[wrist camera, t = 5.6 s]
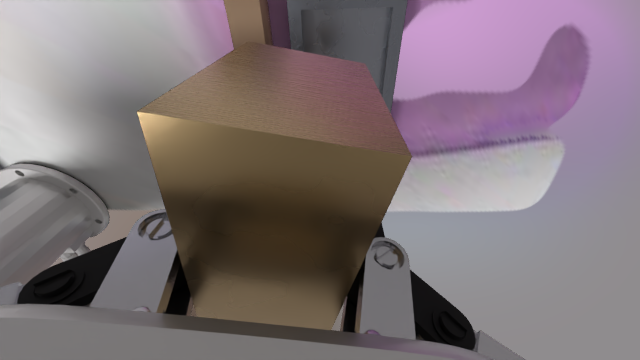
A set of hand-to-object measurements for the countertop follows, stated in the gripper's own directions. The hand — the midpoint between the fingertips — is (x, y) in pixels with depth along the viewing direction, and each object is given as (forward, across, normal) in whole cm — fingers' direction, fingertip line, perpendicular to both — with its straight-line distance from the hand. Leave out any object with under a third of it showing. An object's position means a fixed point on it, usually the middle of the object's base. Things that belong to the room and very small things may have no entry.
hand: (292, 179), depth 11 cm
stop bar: (+1, 0, 0) cm, 1 cm away
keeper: (+16, -3, 0) cm, 16 cm away
